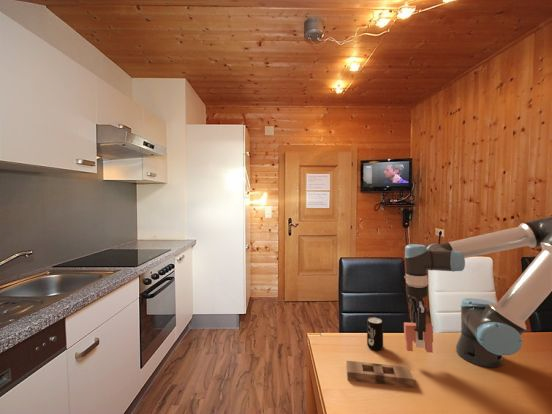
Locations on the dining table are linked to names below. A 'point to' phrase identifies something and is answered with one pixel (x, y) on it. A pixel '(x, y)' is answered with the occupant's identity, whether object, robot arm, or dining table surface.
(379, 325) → the beverage can
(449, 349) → the dining table surface
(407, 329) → the pink pronged block
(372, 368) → the grey-brown slotted holder
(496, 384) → the dining table surface
